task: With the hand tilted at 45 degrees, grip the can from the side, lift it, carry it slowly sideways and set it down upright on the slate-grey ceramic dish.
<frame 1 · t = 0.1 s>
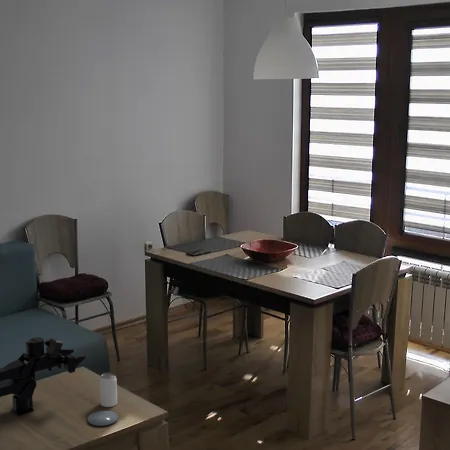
hand: (79, 353, 280), 17 cm above the table, tool horizontal, fingers open, 9 cm apart
dish: (103, 419, 259), on the table
can: (108, 404, 273), on the table
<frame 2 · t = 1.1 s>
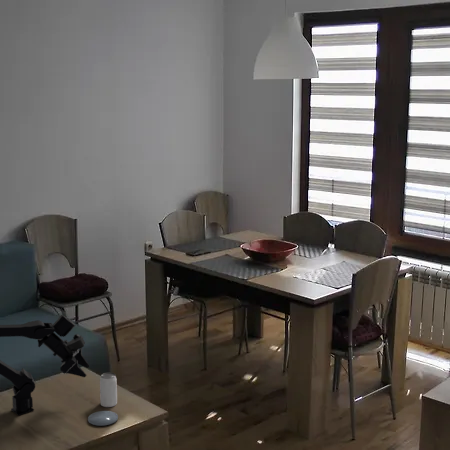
hand: (87, 371, 270), 14 cm above the table, tool tilted 45°, fingers open, 9 cm apart
nothing on the table moved.
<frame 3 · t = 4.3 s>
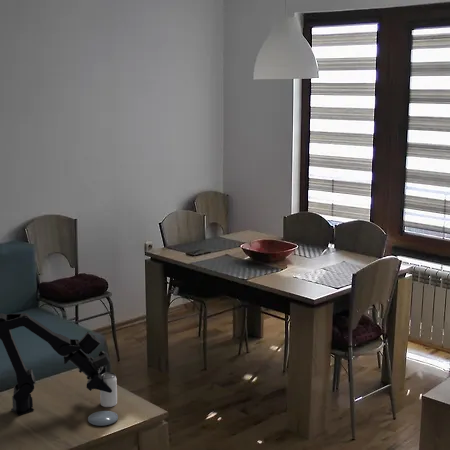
hand: (112, 388, 272), 7 cm above the table, tool tilted 45°, fingers closed on can, 6 cm apart
can: (108, 404, 273), on the table, touching gripper
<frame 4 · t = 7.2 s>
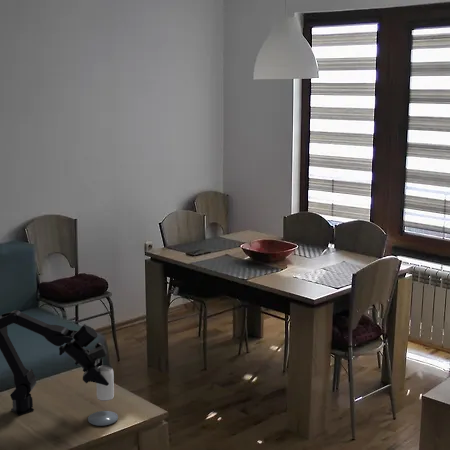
hand: (108, 381, 264), 12 cm above the table, tool tilted 45°, fingers closed on can, 6 cm apart
can: (105, 398, 265), point 5 cm above the table, touching gripper
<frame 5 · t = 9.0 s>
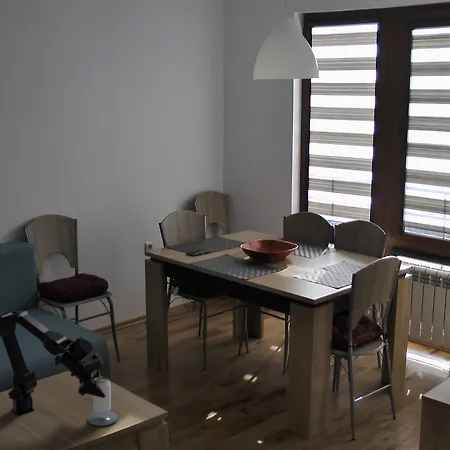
hand: (105, 393, 258), 11 cm above the table, tool tilted 45°, fingers closed on can, 6 cm apart
can: (102, 410, 259), point 4 cm above the table, touching gripper
when the fingers open (8 cm above the table, at t = 10.3 s): can stays where it is, resting on dish.
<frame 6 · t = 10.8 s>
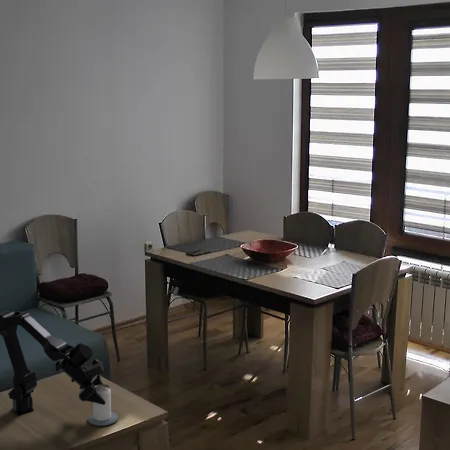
hand: (106, 398, 258), 9 cm above the table, tool tilted 45°, fingers open, 9 cm apart
can: (102, 418, 259), point 1 cm above the table, touching dish
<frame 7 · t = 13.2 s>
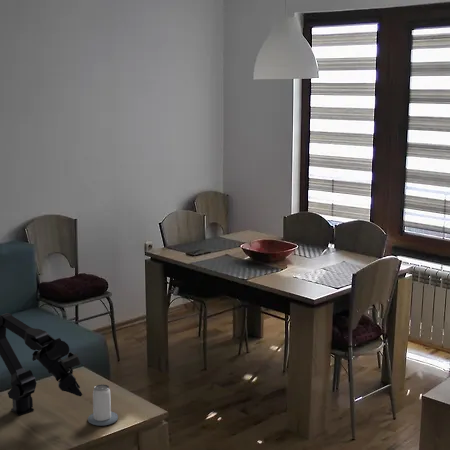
hand: (80, 391, 259), 10 cm above the table, tool tilted 40°, fingers open, 9 cm apart
nothing on the table moved.
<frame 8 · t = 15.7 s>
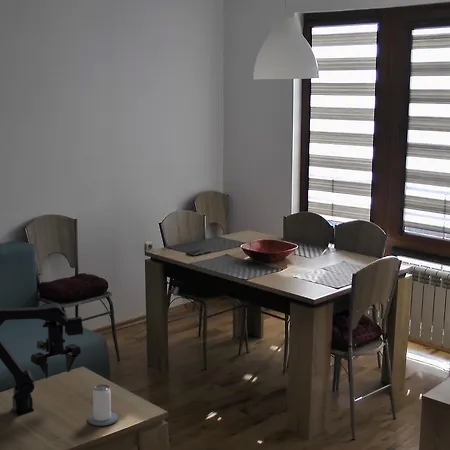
hand: (57, 375, 268), 13 cm above the table, tool pointing down, fingers open, 9 cm apart
nothing on the table moved.
at the end: can inside the target area on the dish (0.3 cm from its centre), point 0.8 cm above the dish's base; can tilted 0°; the gripper is holding nothing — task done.
